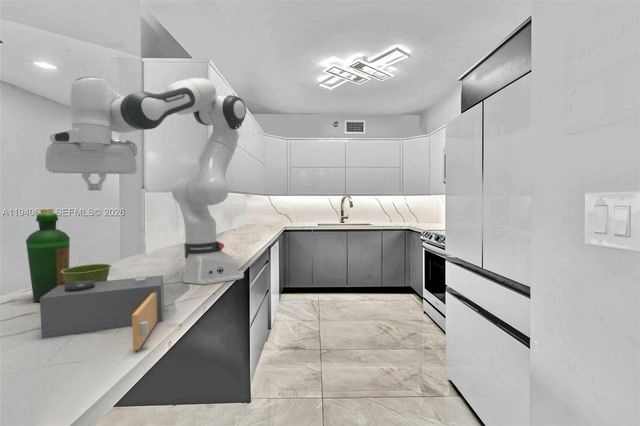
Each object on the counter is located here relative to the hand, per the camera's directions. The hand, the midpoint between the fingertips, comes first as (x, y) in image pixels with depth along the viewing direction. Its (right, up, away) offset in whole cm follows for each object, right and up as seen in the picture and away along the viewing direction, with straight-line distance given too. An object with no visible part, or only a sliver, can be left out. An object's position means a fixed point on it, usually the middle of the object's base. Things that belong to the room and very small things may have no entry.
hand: (95, 190), depth 89 cm
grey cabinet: (+8, -33, -6) cm, 35 cm away
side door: (+23, -33, -16) cm, 43 cm away
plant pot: (-5, -33, +5) cm, 34 cm away
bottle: (-23, -33, +14) cm, 43 cm away
